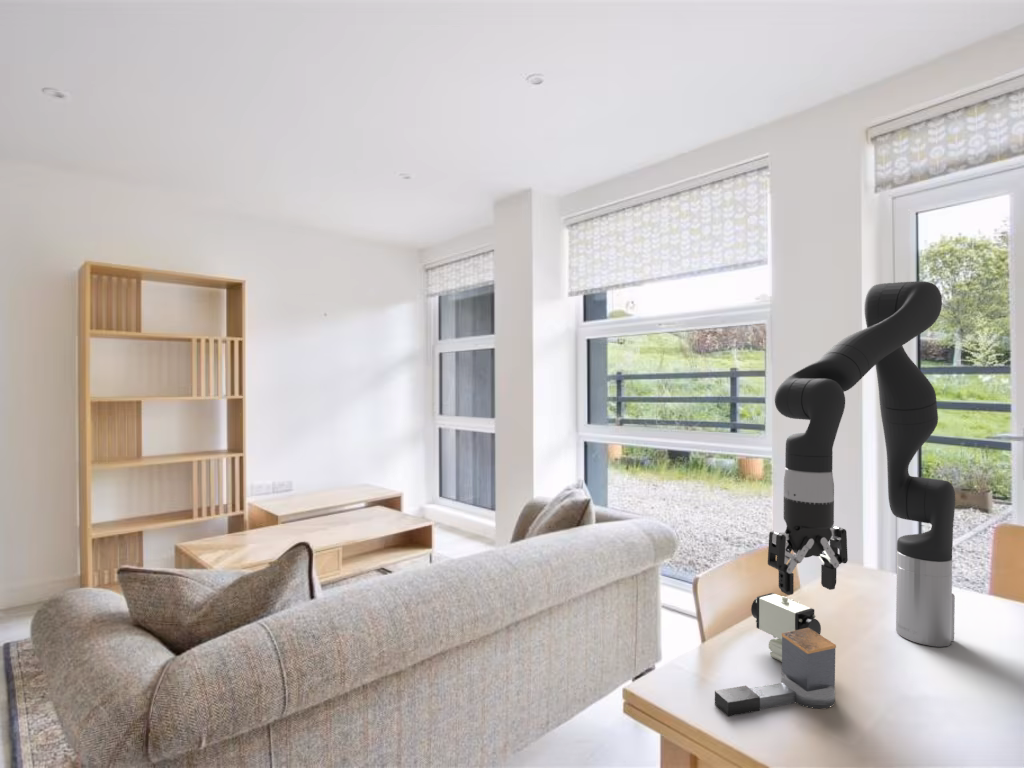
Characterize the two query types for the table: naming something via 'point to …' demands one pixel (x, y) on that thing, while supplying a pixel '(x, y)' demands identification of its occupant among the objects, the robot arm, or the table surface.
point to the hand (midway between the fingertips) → (807, 590)
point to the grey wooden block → (808, 659)
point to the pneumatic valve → (781, 619)
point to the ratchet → (771, 697)
